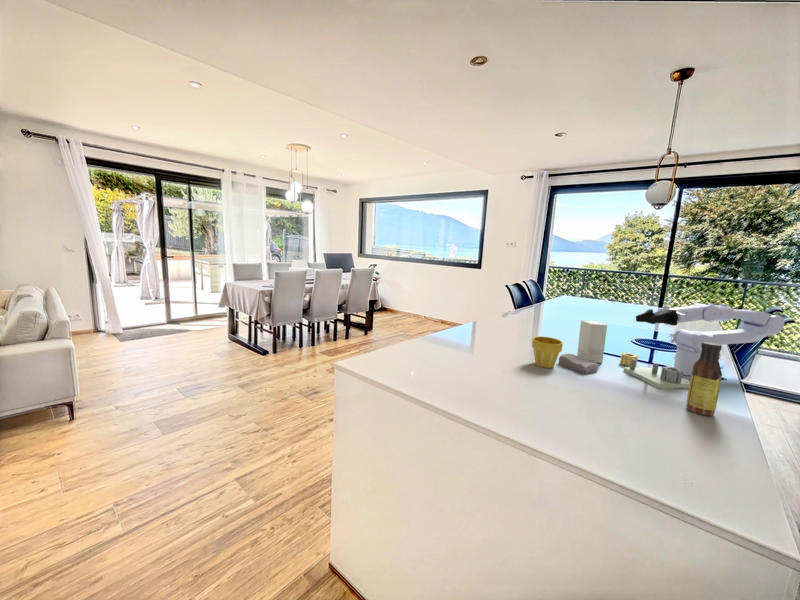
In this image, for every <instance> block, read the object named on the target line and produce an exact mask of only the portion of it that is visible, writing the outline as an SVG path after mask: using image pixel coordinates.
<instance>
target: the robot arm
mask: <svg viewBox="0 0 800 600" xmlns="http://www.w3.org/2000/svg"><path fill="white" fill-rule="evenodd" d="M653 310H654V309H651V308H650V309H647V310H646V311H645V312H643V313H641V314H637V315H636V316H635V322H638V323H647V324H651V325H657V324H664V325H665V326H667V325H668V326H669V325H670V326H677V325H678V324H680V323H681V324H682V323H688V322H696V321H706V322H714V321H715V322H717V321H718V322H719V321H720V322H729V321H731V320H732V319H739V320H741V321H740V323H739V325H738V327H737V329H728V330H727V329H726V330H725V329H724V330H714V331H710V330H709V331H697V330H687V329H684V328H681V329H678V330H676V331H675V332H674V334H673V342H674V343H675V347H676V352H675V358H674V363H673V366H671V365H670V366H669V365H667V366H666V367H674V368H676V369H680V370H681V371H683V375H685V376H691V373H692V370H693V365H694V363H695V362H696V361H698V360H699V358H700V355H701V351H702V347H701V345H702V342H712V343H717V344H720V345H721V346H723V345H735V344H736V345H737V344H748V343H749V344H750V343H755V342H757V341H760V340H761V339H764V338H766V337H769V336H772V335H773V336H774V335H778V334H779V333H780V332H781V330H782V329H784V327H785V319H784V317H783V316H781V315H778V314H777V315H776V314H775V315H774V314H771V313H767V312H761V311H757V310H751V309H733V308H732V307H731V306H729V305H728V304H726V303H720V304H715V303H708V304H705V303H698V302H694V303H692V304H691V305H687V306H678V307H671V308H670V305H663V307H662V309H659V310H658V311H655V312H654V311H653Z"/></svg>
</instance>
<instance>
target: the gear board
mask: <svg viewBox="0 0 800 600" xmlns="http://www.w3.org/2000/svg"><path fill="white" fill-rule="evenodd" d="M636 361H637V362H638V360H635V359H631V364H630V367H629V366H624V368H623V372H624V371H625V372H624V373H626V372H627V373H626V374H628V373H629V374H628V375H630V374H631V376H632V375H633V377H634V376H635V378H636V377H637V378H636V379H638V378H639V380H640V379H641V381H642V380H643V381H642V382H644V381H645V383H647V384H649V385H650V386H652V387H655V388H656V389H659V388H660V389H661V388H662V389H664V390H665V389H667V390H669V389H670V390H671V389H673V388H677V389H678V388H684V389H689V385H690V380H688V379H686V378H683V377H682V380H681V383H679V384H676V383H669V382H667V381H663V380H662V379H660V376H661V371H662V368H661V367H660V364H659V363H656V362H654V363H652V367H637V365H636ZM635 366H636V367H635ZM669 370H673V371H675V370H676V368H674V367H670V369H669Z"/></svg>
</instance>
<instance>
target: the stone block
mask: <svg viewBox="0 0 800 600" xmlns="http://www.w3.org/2000/svg"><path fill="white" fill-rule="evenodd" d="M558 357H559V358H558V364H559V365H561V366H563V367H566V368H568V369H570V370H573V371H576V372H577V371H578V372H577V373H580V374H584V375H587V374H590V372H591V373H597V372H598V369H599V363H594V362H591V361H586V360H583V359H582V358H580V357H578V356H577V355H575V354H572V353H564V354H561V355H560V356H558Z"/></svg>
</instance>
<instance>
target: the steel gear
mask: <svg viewBox="0 0 800 600" xmlns="http://www.w3.org/2000/svg"><path fill="white" fill-rule="evenodd" d="M661 369H662V371H661V376H660V379H662V380H663V381H667V382H669V383H676V384H679V383H681V380H682V378H683V375H684V374H683V371H681V370H680V369H676V370H675V371H673V370H669V369H670V367H667V366H662V367H661Z"/></svg>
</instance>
